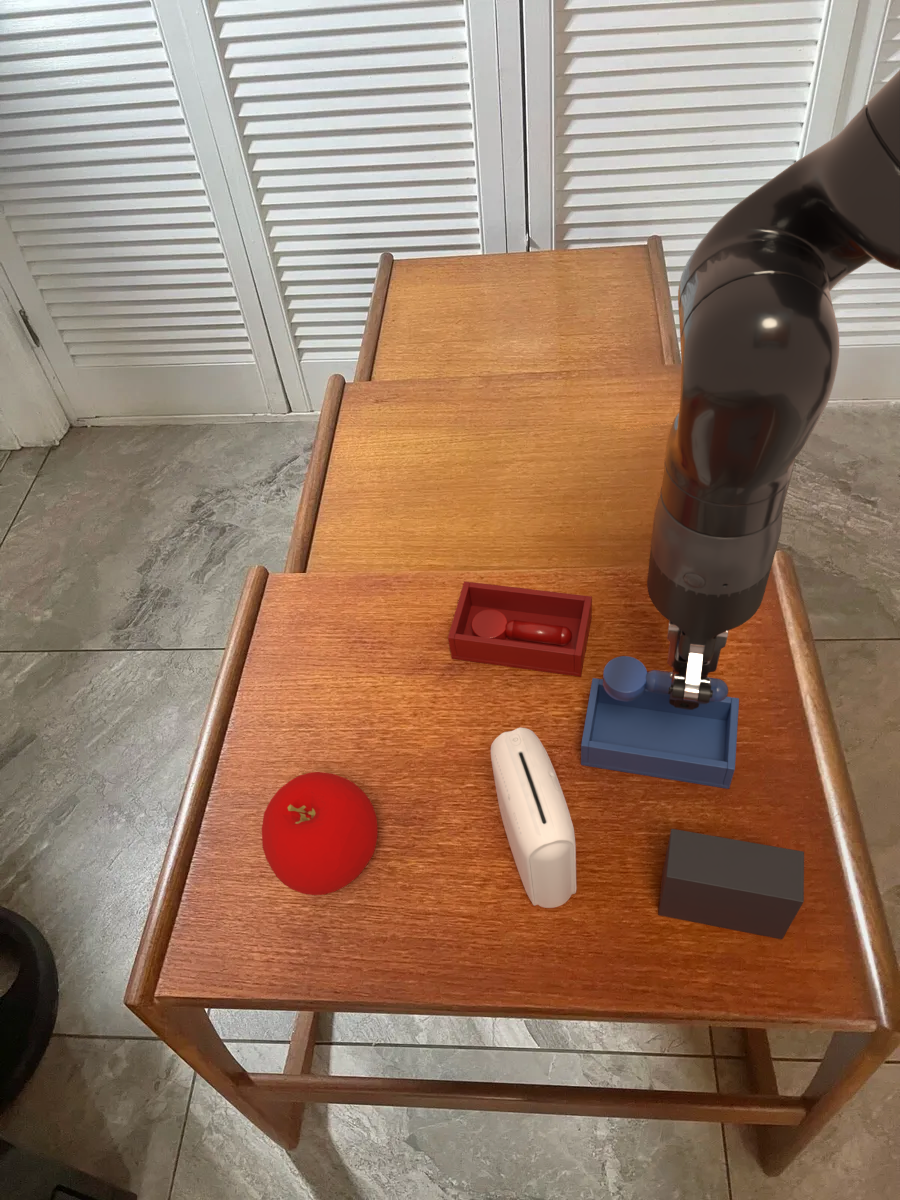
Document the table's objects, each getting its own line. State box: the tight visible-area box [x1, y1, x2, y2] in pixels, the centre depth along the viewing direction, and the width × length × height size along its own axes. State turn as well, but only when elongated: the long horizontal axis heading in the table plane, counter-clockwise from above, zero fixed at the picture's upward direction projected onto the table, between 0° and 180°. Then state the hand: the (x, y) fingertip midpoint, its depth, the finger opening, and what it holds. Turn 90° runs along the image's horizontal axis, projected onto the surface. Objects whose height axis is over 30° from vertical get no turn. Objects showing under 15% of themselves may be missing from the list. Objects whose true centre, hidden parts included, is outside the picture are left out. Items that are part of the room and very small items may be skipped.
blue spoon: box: [602, 655, 729, 702], centre depth 70 cm, size 10×3×2 cm, turn 76°
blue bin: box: [580, 677, 740, 790], centre depth 76 cm, size 12×7×4 cm, turn 76°
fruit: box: [261, 771, 379, 896], centre depth 71 cm, size 9×9×10 cm
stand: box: [657, 828, 805, 940], centre depth 66 cm, size 9×4×8 cm, turn 76°
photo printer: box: [490, 727, 578, 909], centre depth 68 cm, size 10×4×12 cm, turn 14°
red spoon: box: [471, 609, 572, 646], centre depth 85 cm, size 10×3×2 cm, turn 76°
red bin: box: [447, 580, 593, 678], centre depth 84 cm, size 12×7×4 cm, turn 76°
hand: (685, 690), depth 70 cm, fingers closed on blue spoon, 1 cm apart
